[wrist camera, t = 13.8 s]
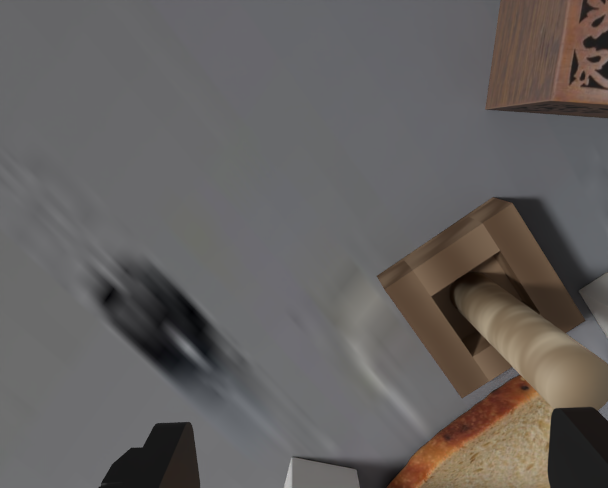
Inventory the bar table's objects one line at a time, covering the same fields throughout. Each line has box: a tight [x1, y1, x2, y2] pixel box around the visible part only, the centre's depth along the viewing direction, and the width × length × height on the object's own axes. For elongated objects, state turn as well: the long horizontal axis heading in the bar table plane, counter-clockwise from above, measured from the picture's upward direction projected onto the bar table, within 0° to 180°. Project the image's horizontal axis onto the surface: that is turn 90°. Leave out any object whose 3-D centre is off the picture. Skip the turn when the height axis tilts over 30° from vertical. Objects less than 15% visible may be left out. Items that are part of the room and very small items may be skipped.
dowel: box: [450, 272, 608, 411], centre depth 32 cm, size 4×4×15 cm
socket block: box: [377, 197, 585, 398], centre depth 38 cm, size 11×11×4 cm
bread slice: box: [387, 375, 554, 488], centre depth 42 cm, size 18×18×4 cm
